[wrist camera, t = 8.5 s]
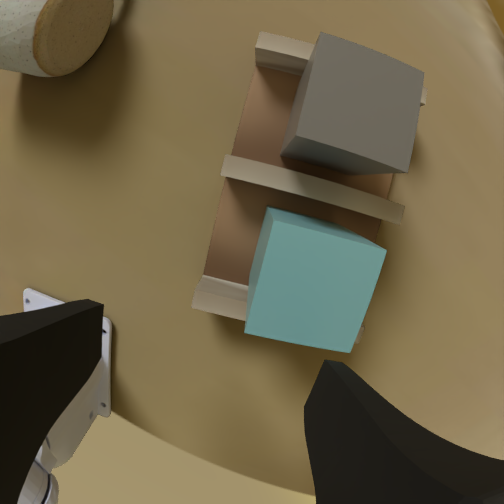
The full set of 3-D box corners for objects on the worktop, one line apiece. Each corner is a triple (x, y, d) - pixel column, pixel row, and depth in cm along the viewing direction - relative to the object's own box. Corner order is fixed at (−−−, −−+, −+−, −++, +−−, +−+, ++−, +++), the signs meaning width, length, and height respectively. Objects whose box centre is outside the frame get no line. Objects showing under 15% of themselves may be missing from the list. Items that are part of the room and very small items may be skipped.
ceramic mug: (83, 94, 16) (9, 60, 8) (14, 76, 15) (-52, 54, 8) (159, -28, 14) (127, -94, 6) (80, -31, 13) (37, -76, 6)
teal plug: (317, 290, 18) (349, 352, 11) (249, 275, 17) (244, 332, 11) (337, 223, 17) (387, 250, 10) (267, 205, 17) (273, 219, 10)
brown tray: (343, 319, 19) (358, 343, 16) (202, 286, 18) (191, 307, 15) (402, 101, 16) (427, 88, 13) (259, 55, 15) (260, 31, 12)
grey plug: (350, 175, 16) (407, 173, 9) (279, 155, 16) (295, 135, 9) (365, 109, 15) (424, 72, 8) (296, 88, 15) (320, 31, 8)
